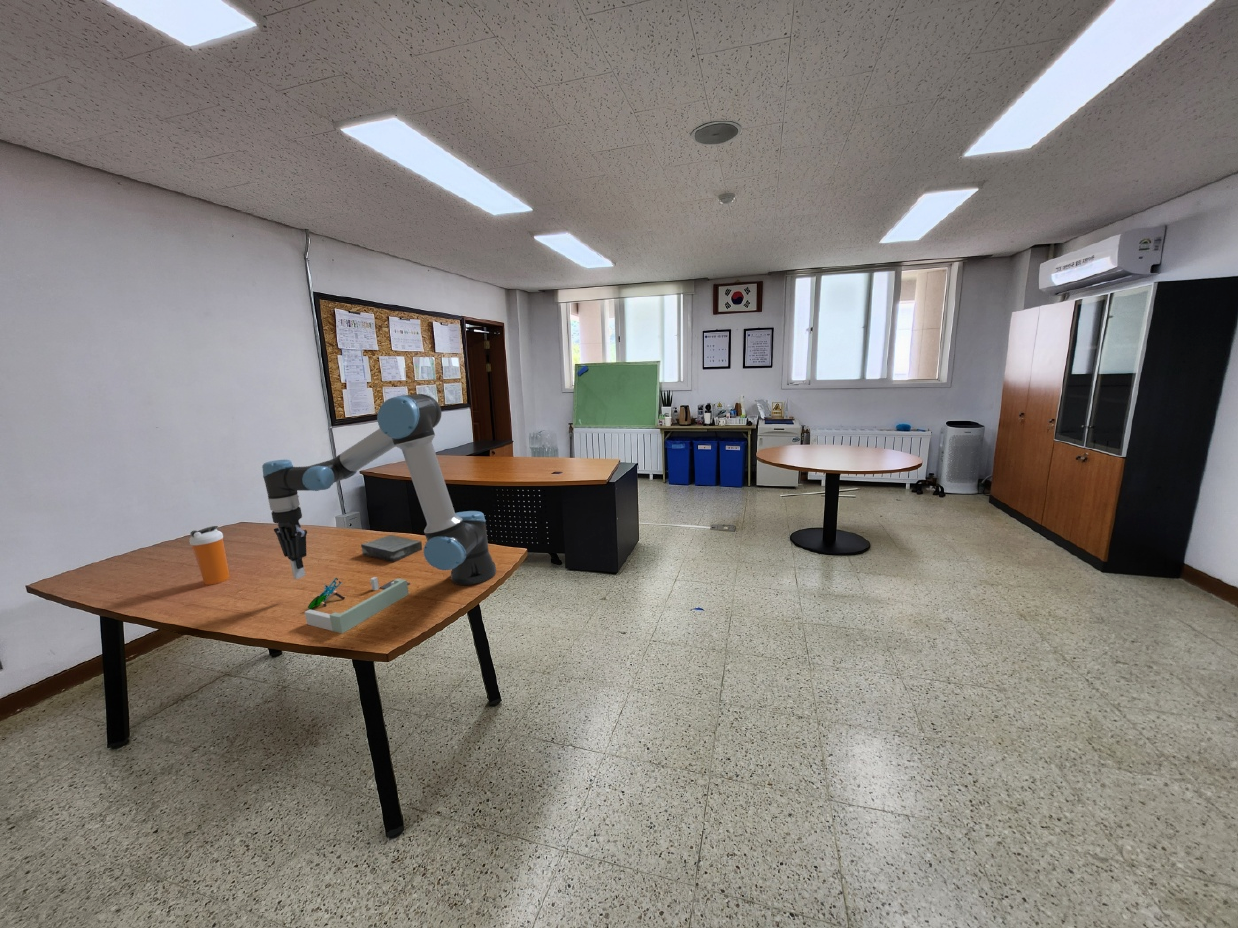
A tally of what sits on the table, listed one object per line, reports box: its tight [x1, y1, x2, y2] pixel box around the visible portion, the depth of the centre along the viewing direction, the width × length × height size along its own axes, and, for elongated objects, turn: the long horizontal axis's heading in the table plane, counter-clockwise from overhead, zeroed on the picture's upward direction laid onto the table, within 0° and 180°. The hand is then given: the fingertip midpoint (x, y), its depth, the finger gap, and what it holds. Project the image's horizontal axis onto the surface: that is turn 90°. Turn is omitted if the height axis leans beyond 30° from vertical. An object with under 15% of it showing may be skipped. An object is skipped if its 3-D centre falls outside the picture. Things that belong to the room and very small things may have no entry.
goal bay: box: [329, 578, 410, 634], centre depth 133 cm, size 4×23×5 cm, turn 158°
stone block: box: [360, 534, 423, 563], centre depth 179 cm, size 14×20×5 cm
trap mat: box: [379, 579, 411, 590], centre depth 150 cm, size 8×6×1 cm
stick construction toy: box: [307, 577, 346, 610], centre depth 141 cm, size 12×7×8 cm
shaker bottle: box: [188, 525, 231, 586], centre depth 159 cm, size 9×9×20 cm
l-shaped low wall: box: [304, 576, 394, 632], centre depth 136 cm, size 11×23×4 cm, turn 158°
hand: (299, 576), depth 145 cm, fingers closed
